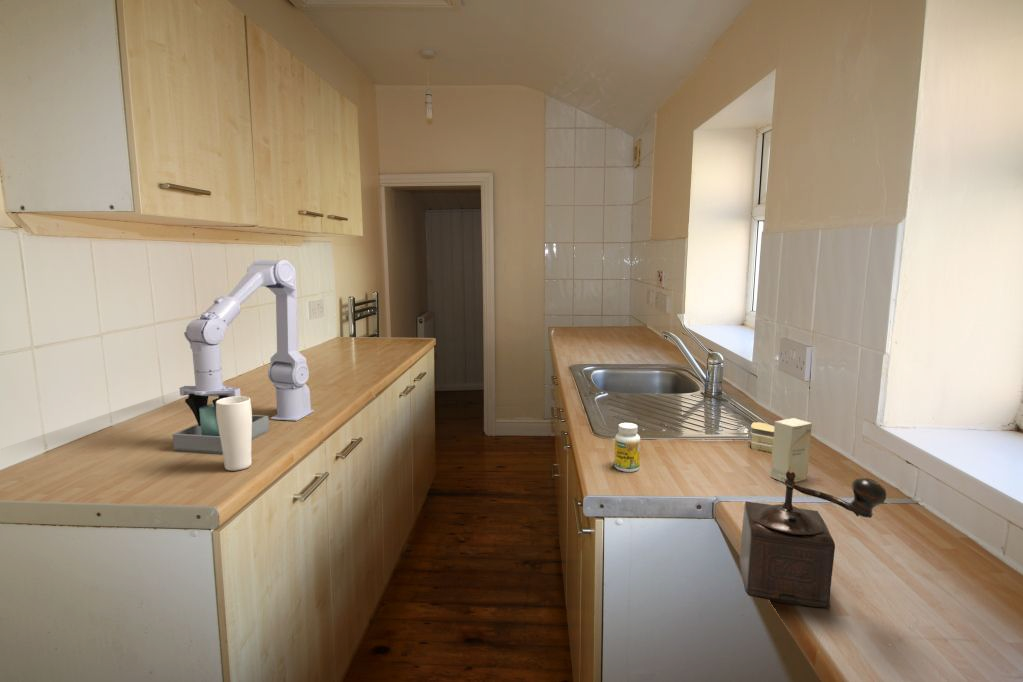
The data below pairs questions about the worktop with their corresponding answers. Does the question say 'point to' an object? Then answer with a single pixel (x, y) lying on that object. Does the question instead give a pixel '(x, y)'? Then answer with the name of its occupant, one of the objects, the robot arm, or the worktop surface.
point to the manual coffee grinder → (796, 545)
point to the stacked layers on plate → (762, 436)
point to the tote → (212, 437)
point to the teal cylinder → (208, 420)
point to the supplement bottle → (627, 448)
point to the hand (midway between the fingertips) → (212, 425)
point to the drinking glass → (235, 431)
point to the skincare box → (791, 449)
